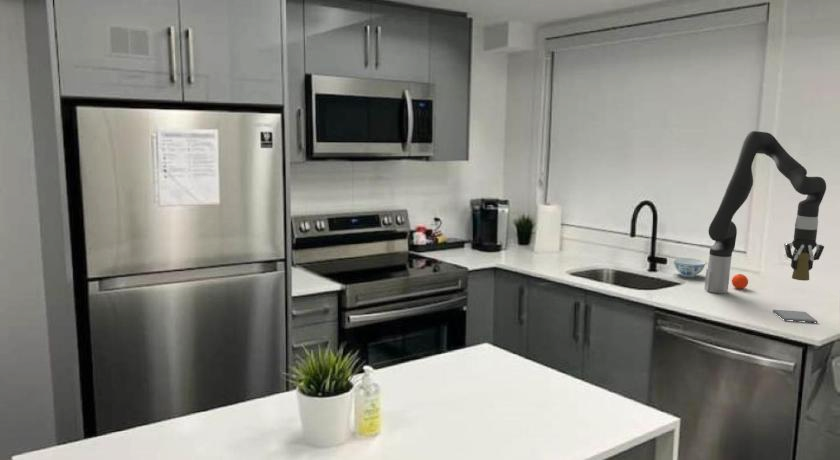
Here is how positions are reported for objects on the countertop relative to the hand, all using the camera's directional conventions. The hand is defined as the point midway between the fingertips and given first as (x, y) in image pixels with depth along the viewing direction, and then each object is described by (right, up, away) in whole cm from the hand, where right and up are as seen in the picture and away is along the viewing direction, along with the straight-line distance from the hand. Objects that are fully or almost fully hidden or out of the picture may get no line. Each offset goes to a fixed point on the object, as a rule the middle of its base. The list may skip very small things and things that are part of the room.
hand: (801, 269), depth 241 cm
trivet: (-1, -20, +3) cm, 20 cm away
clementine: (-1, -12, +46) cm, 47 cm away
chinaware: (-15, -8, +68) cm, 70 cm away
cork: (0, -4, +1) cm, 4 cm away
